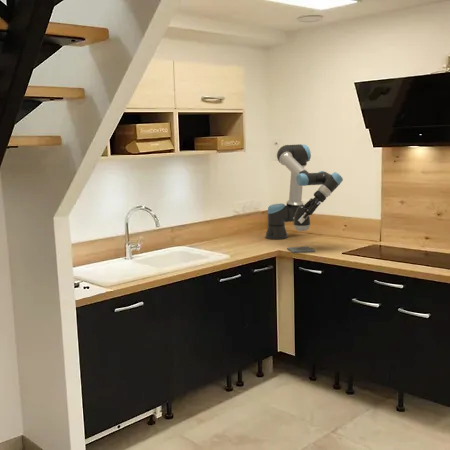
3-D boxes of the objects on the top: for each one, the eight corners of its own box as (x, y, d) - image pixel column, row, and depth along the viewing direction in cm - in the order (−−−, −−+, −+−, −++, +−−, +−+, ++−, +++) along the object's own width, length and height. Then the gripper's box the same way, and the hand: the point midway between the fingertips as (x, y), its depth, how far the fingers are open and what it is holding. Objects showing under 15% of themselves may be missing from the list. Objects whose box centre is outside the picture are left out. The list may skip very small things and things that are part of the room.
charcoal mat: (287, 249, 361) (287, 247, 361) (308, 248, 363) (308, 246, 363) (292, 253, 348) (292, 251, 348) (315, 252, 351) (315, 250, 350)
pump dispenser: (310, 231, 348) (310, 206, 346) (292, 231, 350) (292, 206, 348) (311, 228, 358) (311, 204, 356) (294, 228, 360) (294, 204, 358)
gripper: (332, 200, 343) (306, 227, 343) (320, 196, 365) (296, 222, 364) (324, 191, 341) (298, 219, 341) (312, 188, 363) (287, 214, 363)
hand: (297, 220), depth 353 cm, fingers closed on pump dispenser, 10 cm apart
